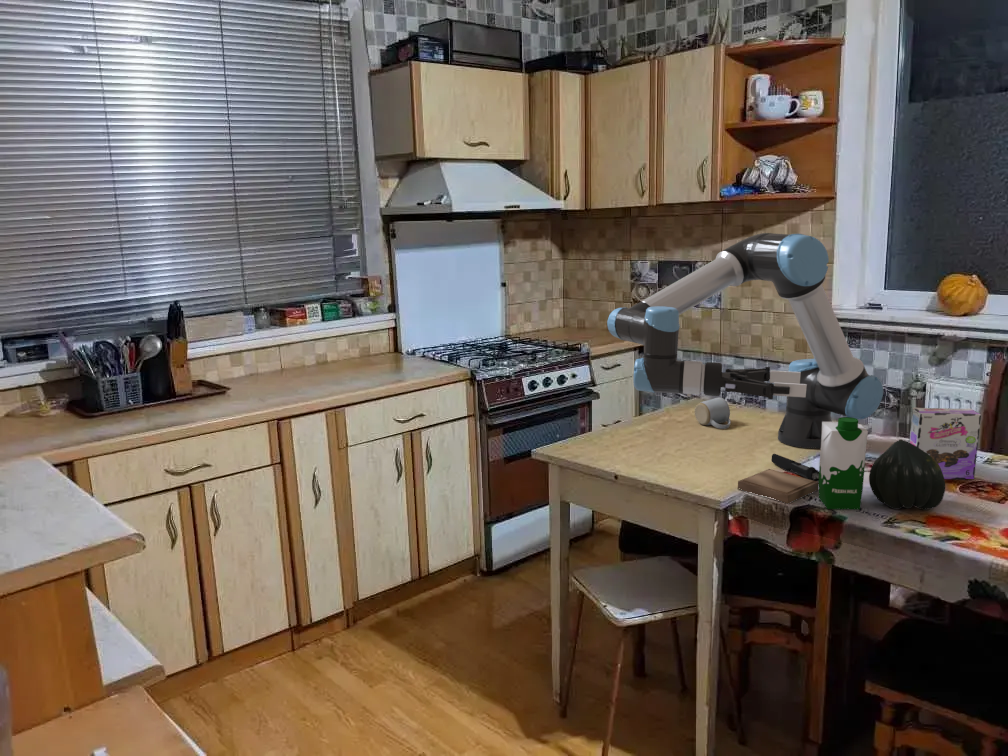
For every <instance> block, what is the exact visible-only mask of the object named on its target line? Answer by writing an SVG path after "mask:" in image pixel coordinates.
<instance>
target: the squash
mask: <svg viewBox="0 0 1008 756" xmlns="http://www.w3.org/2000/svg"><path fill="white" fill-rule="evenodd" d="M868 476H869V477H868V482H869V486H870V489H871V491H872V493H873V495H874V497H875V498H876V500H878V501H879V502H880V503H881V504H884V505H886V506H888V507H889V508H892V509H895V510H897V509H898V510H900V509H902V508H905V509H910V508H912V507H913V506H914V507H915V508H918V509H920V510H932V509H935V508H936V507H938V506H939V505H940V503H941V502H942V501H943V499H944V497H945V493H946V481H945V480H946V479H944V476H943V473H942V471H941V468H940V466H939V464H938V463H937V462H936V460H935V459H934V458H932V457H931V456H930V455H929V454H927V453H926V452H924V451H923V450H921V449H920V448H918V447H916V446H915V445H913V444H911V443H909V441H906V440H903V438H902V439H900V438H899V440H897V441H895V442H894V443H893V444H891V445H890V446H889V447H888V448H887V449H886V450H885V451H883V452H882V454H880V455H879V456H878V457H877V459H876V460H874V462H873V464H872V466H871V467H870V471H869V475H868Z"/></svg>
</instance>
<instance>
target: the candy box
mask: <svg viewBox="0 0 1008 756" xmlns="http://www.w3.org/2000/svg"><path fill="white" fill-rule="evenodd" d="M911 412H912V413H911V421H910V432H909V439H908V442H909V443H911V444H913V445H915V446H916V447H918V448H920V449H921V450H923V451H924V452H926V453H927V454H929V455H930V456H931V457H932V458H934V459H935V460H936V462H937V463H938V464H939V466H940V468H941V471H942V473H943V476H944V480H965V479H974V480H975V473H976V465H977V455H978V448H979V447H978V446H979V436H980V430H981V429H980V427H981V419H982V414H981V413H979V412H978V411H976V410H975V409H973V408H947V407H946V408H944V407H943V408H942V407H939V408H938V407H937V408H936V407H935V408H934V407H933V408H932V407H912V411H911Z"/></svg>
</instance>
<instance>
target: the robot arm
mask: <svg viewBox="0 0 1008 756" xmlns="http://www.w3.org/2000/svg"><path fill="white" fill-rule="evenodd" d="M829 261H830V260H829V254H828V251H827V248H826V247H825V245H824V244H823V242H821V241H820V240H819V239H818V238H816V237H814V236H811V235H807V234H803V233H791V234H790V233H789V234H786V233H772V232H762V233H758V234H754V235H752V236H748V237H747V238H744V239H742V240H739V241H738V242H736V243H734V244H731V245H730V246H728V247H726V248H725V249H723V250H721V251H720V252H718V253H717V254H716V257H715V259H713V260H712V261H711V262H709V263H706V264H705V265H703V266H701V267H699V268H697V269H696V270H694V271H691V272H690V273H689V274H687V275H685V276H684V277H681V278H680V279H679V280H676V281H675V282H673V283H671V284H669V285H668V286H666V287H664V288H662V289H661V290H659V291H657V292H655V293H654V294H652V295H650V296H649V297H646V298H645V299H643V300H641V301H640V302H637V303H636V304H634V305H632V306H630V307H625V306H624V307H618V308H615V309H614V310H612V311H611V312H610V313H609V316H608V319H607V321H606V323H607V329H608V332H609V334H611V336H613V337H615V338H616V339H617V338H618V339H619V340H621V341H627V342H631V343H634V344H638V345H642V346H643V357H641V358H636V359H635V361H634V366H633V387H634V389H635V390H636V391H638V392H639V391H641V392H650V393H653V394H656V393H657V394H658V393H662V394H679V395H681V394H682V395H686V396H687V397H688V398H690V397H692V395H694V396H696V395H697V396H700V395H701V393H703V395H704V396H707V397H708V396H709V397H719V396H720V395H721V391H722V388H725V390H724V391H725V392H727V393H737V394H739V393H740V394H745V395H750V396H756V397H763V398H767V399H768V400H773V399H774V396H775V397H776V396H777V397H786V401H785V402H786V403H785V404H786V405H785V409H786V410H785V414H784V416H783V418H782V421H781V424H780V426H779V428H778V432H777V440H778V441H779V443H782V444H784V445H788V446H792V447H795V448H801V447H802V448H803V449H821V437H822V422H833V420H832V415H831V414H832V413H834V414H837V415H840V416H842V417H851V418H855V419H858V420H865V419H867V418H869V417H871V416H872V415H873V414H874V413H875V412H876V411H877V410H878V408H879V406H880V405H881V402H882V399H883V395H884V385H883V383H882V381H881V379H880V378H879V377H877V376H875V375H872V374H868V372H867V368H866V367H865V364H864V362H863V361H862V360H861V359H859V358H858V357H855V356H853V353H852V350H851V349H850V346H849V344H848V341H847V339H846V337H845V334H844V332H843V330H842V328H841V325H840V323H839V321H838V318H837V316H836V314H835V311H834V308H833V307H832V305H831V302H830V300H829V297H828V294H827V293H826V290H825V288H824V283H825V282H826V279H827V276H826V275H827V273H828V270H829V265H828V263H829ZM750 281H766V282H771V283H773V286H774V287H775V290H776V292H777V295H778V297H780V298H781V299H784V300H787V301H788V303H789V305H790V307H791V310H792V312H793V313H794V316H795V318H796V320H797V323H798V325H799V327H800V329H801V332H802V334H803V336H804V338H805V341H806V342H807V344H808V345H807V346H808V347H809V350H810V351H811V353H812V356H813V358H805V359H804V358H803V359H797V360H793V361H791V362H790V363H789V366H788V370H787V371H785V370H771V367H770V366H765V367H762V368H741V369H740V368H738V369H734V368H733V369H732V368H726V369H725V370H724V372H723V364H722V363H721V362H712V361H711V362H709V361H707V362H705V363H703V362H702V361H701V360H700V361H698V360H678V348H679V347H678V346H679V336H680V335H679V332H680V327H681V325H680V315H682V314H684V313H685V312H687V311H689V310H691V309H692V308H693V307H696V306H698V305H699V304H700V303H703V302H704V301H706V300H708V299H710V298H711V297H713V296H715V295H717V294H718V293H720V292H721V291H723V290H725V289H727V288H729V287H738V286H740V285H742V284H744V283H746V282H750Z"/></svg>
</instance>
